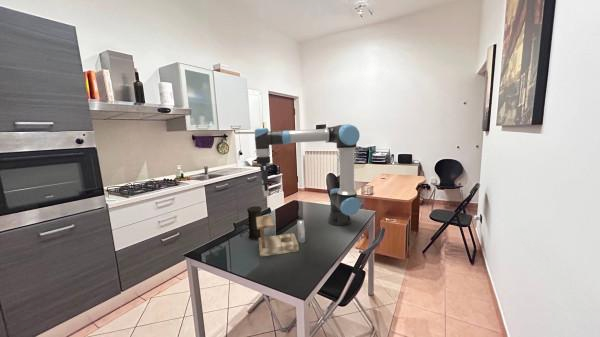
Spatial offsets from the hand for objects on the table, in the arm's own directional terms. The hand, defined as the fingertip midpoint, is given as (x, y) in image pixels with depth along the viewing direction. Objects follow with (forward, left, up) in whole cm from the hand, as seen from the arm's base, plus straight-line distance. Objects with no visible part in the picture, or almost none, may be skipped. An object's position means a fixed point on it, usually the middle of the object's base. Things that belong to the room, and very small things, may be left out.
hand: (265, 193), depth 139 cm
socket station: (-4, +12, -28) cm, 31 cm away
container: (+7, -6, -28) cm, 30 cm away
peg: (-18, +8, -28) cm, 34 cm away
